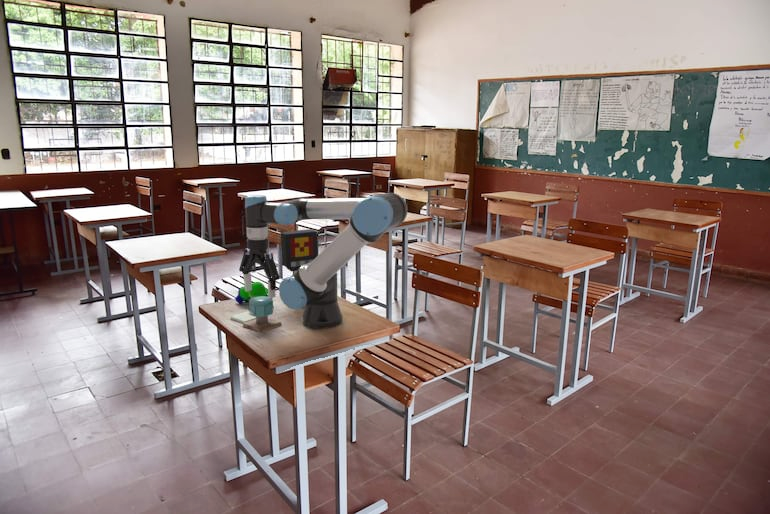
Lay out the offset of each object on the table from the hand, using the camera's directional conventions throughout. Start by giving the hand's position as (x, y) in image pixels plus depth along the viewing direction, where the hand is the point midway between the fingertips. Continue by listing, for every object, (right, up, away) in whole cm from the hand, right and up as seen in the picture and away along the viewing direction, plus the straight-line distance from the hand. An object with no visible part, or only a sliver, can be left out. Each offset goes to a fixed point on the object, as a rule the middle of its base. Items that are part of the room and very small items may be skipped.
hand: (259, 294), depth 200 cm
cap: (0, -7, +2) cm, 7 cm away
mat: (-7, -10, +11) cm, 16 cm away
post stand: (0, -12, +3) cm, 12 cm away
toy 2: (+10, -5, +34) cm, 35 cm away
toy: (-9, -6, +27) cm, 29 cm away
